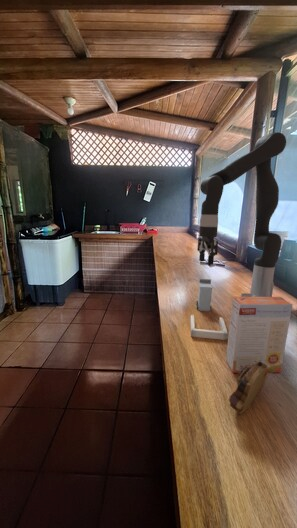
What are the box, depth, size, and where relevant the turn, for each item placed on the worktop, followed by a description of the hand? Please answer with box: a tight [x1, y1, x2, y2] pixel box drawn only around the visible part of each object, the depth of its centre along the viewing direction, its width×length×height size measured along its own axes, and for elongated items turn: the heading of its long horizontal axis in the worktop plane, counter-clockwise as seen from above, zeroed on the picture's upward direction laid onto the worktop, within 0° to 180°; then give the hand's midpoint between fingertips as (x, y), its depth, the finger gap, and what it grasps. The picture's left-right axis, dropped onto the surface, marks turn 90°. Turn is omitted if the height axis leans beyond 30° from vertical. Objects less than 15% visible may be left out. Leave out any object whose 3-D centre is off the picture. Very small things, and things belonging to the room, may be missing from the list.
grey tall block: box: [196, 278, 213, 312], centre depth 106 cm, size 6×7×12 cm
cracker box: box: [225, 296, 293, 374], centre depth 66 cm, size 14×6×21 cm, turn 92°
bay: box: [189, 314, 229, 341], centre depth 88 cm, size 12×12×2 cm
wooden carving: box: [228, 362, 269, 415], centre depth 55 cm, size 16×5×10 cm, turn 139°
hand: (205, 262), depth 104 cm, fingers open, 8 cm apart
